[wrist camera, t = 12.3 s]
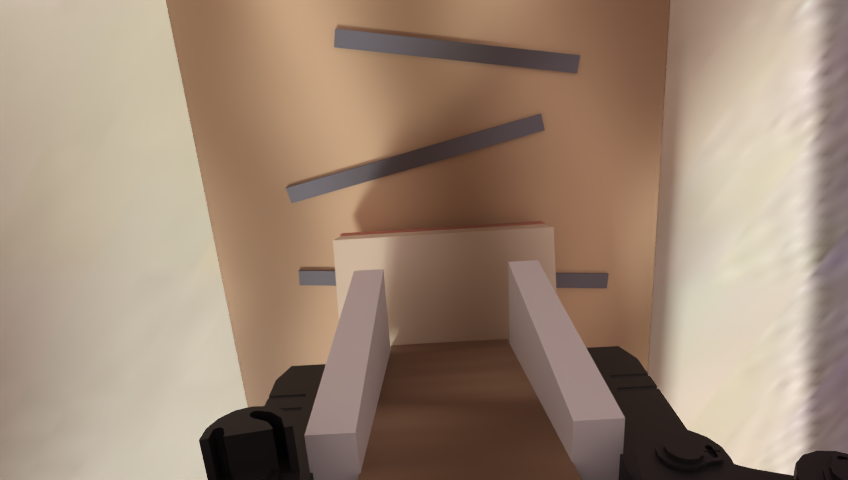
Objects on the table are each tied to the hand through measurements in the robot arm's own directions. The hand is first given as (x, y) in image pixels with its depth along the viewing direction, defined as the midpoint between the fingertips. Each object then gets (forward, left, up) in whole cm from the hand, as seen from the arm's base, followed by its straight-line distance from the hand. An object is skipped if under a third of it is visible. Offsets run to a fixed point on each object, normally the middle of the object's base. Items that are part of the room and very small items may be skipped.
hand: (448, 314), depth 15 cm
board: (0, -2, -5) cm, 5 cm away
